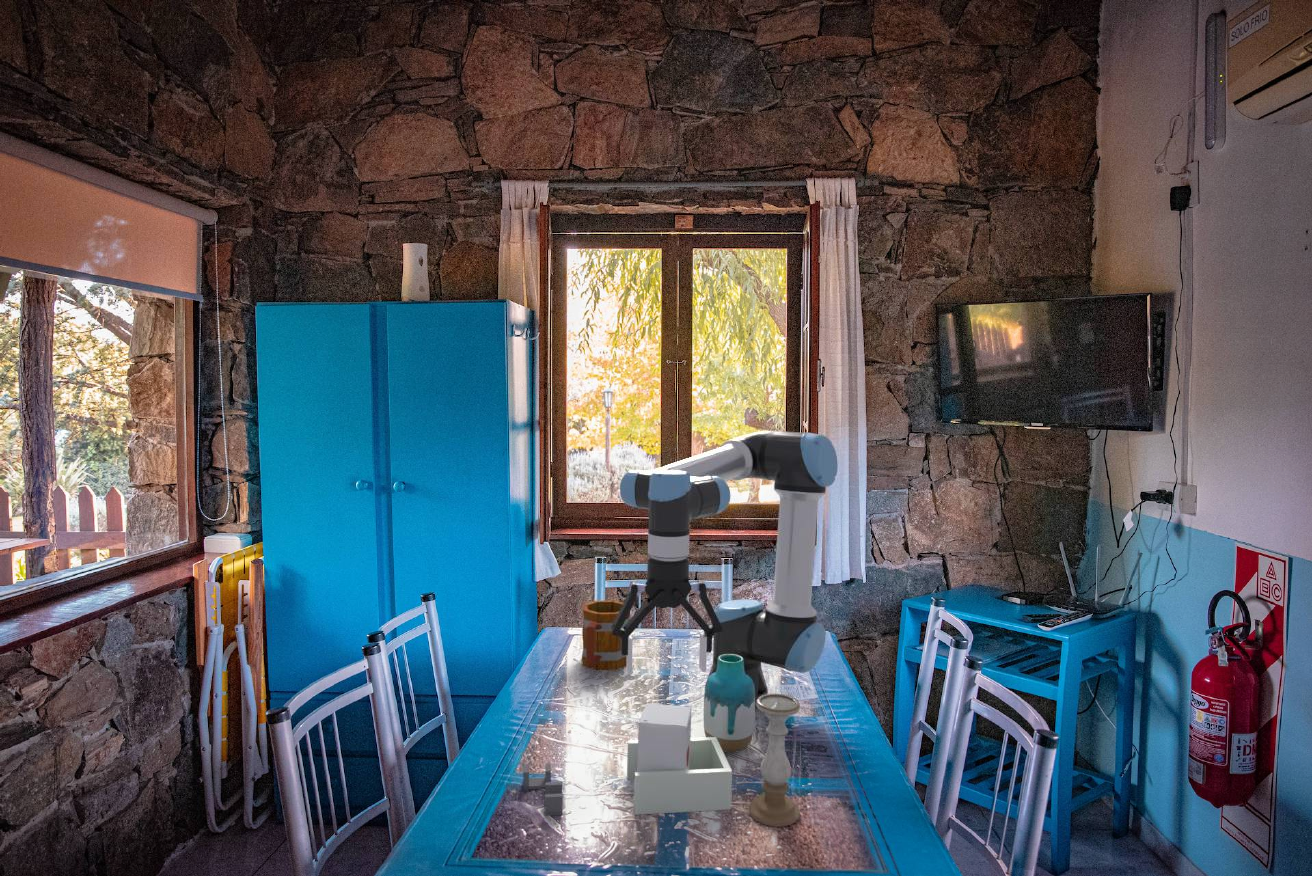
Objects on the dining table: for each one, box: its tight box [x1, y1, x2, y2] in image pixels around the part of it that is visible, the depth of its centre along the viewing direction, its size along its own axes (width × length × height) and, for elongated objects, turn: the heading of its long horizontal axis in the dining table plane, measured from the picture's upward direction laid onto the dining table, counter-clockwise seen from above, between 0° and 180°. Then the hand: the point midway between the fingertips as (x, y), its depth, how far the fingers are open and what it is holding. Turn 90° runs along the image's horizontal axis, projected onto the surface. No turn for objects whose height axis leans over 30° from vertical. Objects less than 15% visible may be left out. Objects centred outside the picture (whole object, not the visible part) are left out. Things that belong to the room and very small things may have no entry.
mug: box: [581, 600, 631, 672], centre depth 205 cm, size 20×14×15 cm
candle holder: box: [748, 693, 801, 828], centre depth 136 cm, size 9×9×20 cm
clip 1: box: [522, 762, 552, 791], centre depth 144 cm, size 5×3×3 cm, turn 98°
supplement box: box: [637, 702, 692, 772], centre depth 142 cm, size 9×9×15 cm
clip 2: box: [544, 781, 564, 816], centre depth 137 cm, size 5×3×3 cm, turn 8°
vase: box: [703, 654, 756, 754], centre depth 160 cm, size 11×11×19 cm
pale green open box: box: [626, 736, 733, 816], centre depth 143 cm, size 17×13×7 cm
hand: (666, 670), depth 142 cm, fingers open, 13 cm apart
